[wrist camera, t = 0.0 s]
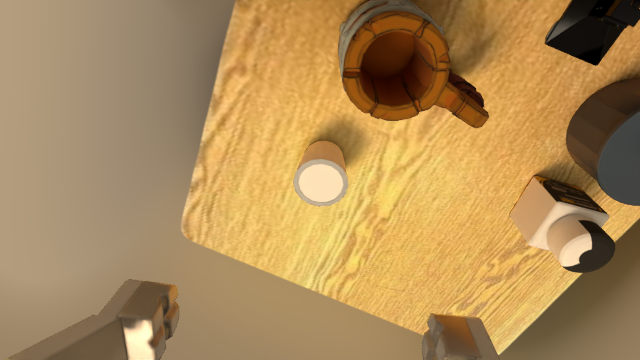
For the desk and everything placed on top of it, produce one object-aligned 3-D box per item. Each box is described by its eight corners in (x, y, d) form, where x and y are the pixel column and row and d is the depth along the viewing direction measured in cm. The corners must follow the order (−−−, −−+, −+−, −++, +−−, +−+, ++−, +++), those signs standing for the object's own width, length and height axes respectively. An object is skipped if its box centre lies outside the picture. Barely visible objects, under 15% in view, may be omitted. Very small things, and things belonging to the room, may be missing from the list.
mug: (364, -26, 41) (372, -22, 28) (486, 45, 44) (545, 79, 31) (320, 63, 46) (310, 102, 33) (432, 122, 49) (464, 179, 36)
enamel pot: (591, 73, 45) (633, 91, 38) (695, 84, 45) (755, 104, 38) (550, 164, 51) (580, 193, 44) (641, 174, 51) (685, 205, 44)
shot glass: (358, 161, 52) (359, 187, 46) (321, 188, 55) (318, 216, 49) (325, 126, 50) (322, 148, 44) (289, 156, 53) (281, 181, 47)
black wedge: (594, 65, 44) (618, 75, 40) (541, 42, 44) (560, 50, 40) (679, -50, 38) (718, -52, 34) (619, -80, 37) (652, -84, 33)
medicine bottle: (580, 186, 52) (638, 241, 42) (552, 226, 56) (599, 285, 46) (533, 174, 52) (580, 226, 41) (507, 214, 55) (545, 272, 45)
